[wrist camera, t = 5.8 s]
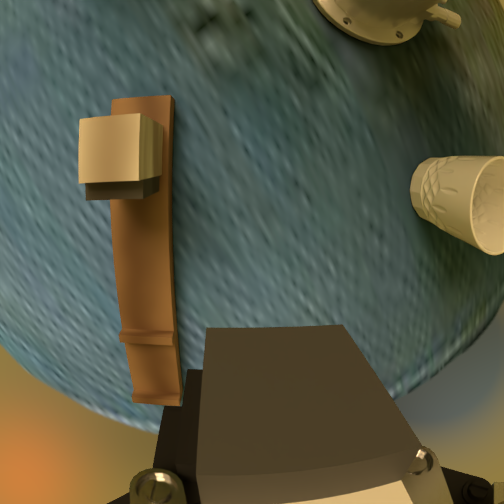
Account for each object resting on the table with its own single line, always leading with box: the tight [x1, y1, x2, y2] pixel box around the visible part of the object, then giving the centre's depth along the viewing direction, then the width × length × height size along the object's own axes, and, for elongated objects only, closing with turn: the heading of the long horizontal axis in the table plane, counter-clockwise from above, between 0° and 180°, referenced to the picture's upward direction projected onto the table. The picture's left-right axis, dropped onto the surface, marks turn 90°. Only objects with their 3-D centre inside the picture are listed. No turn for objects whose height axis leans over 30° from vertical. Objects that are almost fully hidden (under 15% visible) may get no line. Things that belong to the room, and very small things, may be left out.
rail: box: [79, 95, 183, 406], centre depth 24 cm, size 5×29×9 cm, turn 178°
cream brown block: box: [196, 325, 422, 504], centre depth 7 cm, size 4×5×7 cm
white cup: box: [410, 156, 504, 255], centre depth 24 cm, size 8×8×10 cm
